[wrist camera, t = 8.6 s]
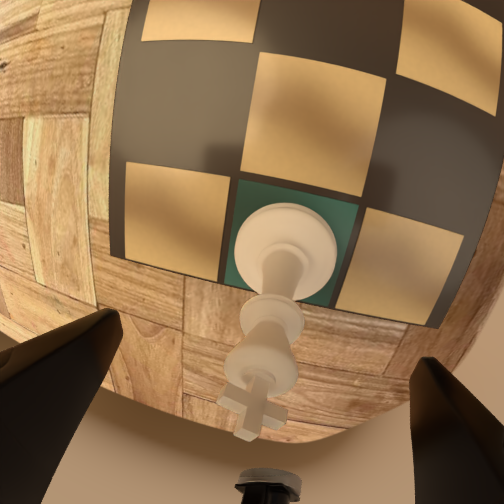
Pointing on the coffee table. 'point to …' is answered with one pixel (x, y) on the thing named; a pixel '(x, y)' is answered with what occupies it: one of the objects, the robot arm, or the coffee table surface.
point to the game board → (312, 139)
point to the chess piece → (273, 309)
